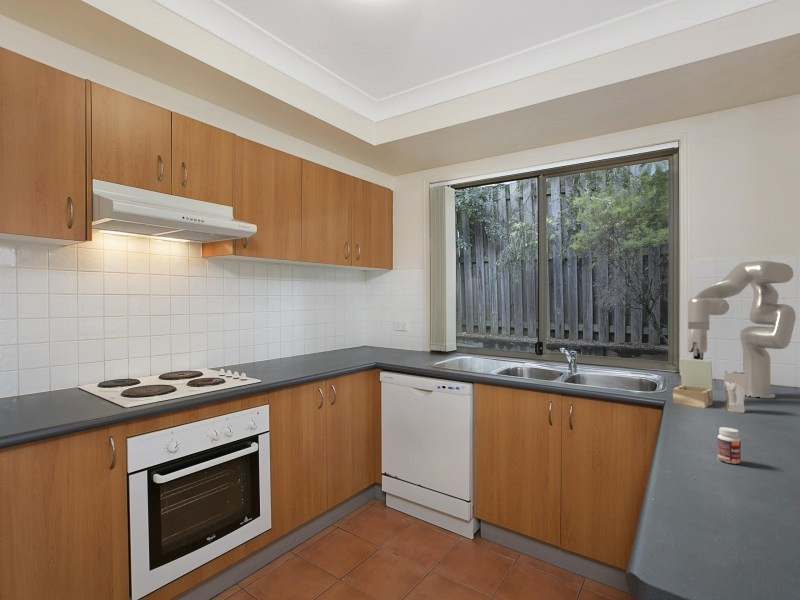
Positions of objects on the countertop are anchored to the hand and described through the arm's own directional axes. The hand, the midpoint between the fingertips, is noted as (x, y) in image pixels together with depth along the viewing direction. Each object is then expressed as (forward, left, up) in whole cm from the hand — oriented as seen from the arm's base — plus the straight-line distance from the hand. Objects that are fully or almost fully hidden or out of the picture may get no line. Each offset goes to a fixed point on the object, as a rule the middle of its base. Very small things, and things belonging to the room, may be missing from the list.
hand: (698, 368), depth 181 cm
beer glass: (+11, +15, -14) cm, 23 cm away
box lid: (+4, 0, -2) cm, 5 cm away
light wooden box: (+9, 0, -14) cm, 16 cm away
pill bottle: (+80, +26, -14) cm, 85 cm away
